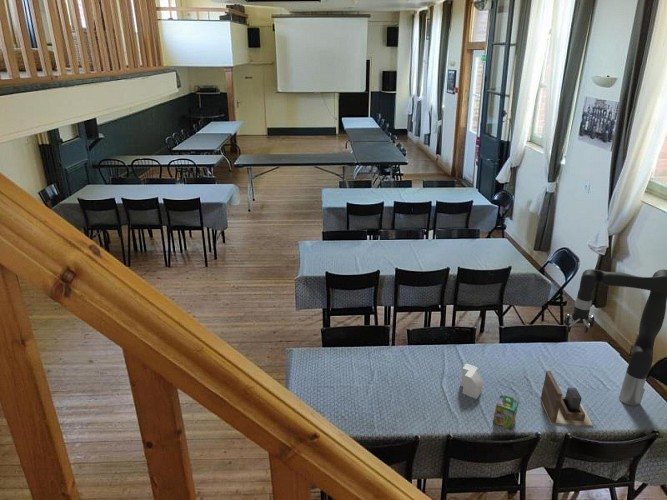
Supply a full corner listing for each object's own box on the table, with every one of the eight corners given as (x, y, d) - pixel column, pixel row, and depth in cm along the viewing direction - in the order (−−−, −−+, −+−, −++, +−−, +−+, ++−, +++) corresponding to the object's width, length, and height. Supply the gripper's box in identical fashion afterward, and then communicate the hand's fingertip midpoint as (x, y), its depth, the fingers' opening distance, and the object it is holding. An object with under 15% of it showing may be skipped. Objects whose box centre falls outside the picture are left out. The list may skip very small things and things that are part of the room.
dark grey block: (571, 406, 253) (575, 387, 248) (576, 417, 246) (581, 398, 241) (563, 405, 253) (567, 387, 249) (568, 416, 246) (573, 397, 241)
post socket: (579, 402, 257) (586, 372, 250) (592, 426, 241) (601, 396, 233) (540, 399, 259) (546, 370, 252) (551, 424, 242) (558, 393, 235)
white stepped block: (463, 380, 273) (466, 363, 269) (483, 388, 267) (486, 370, 263) (456, 391, 265) (458, 373, 261) (476, 399, 259) (479, 381, 255)
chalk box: (492, 423, 243) (496, 399, 237) (497, 412, 250) (501, 389, 244) (511, 430, 239) (516, 406, 233) (515, 419, 246) (520, 395, 240)
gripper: (593, 302, 258) (587, 329, 264) (566, 301, 259) (560, 327, 265) (599, 310, 251) (593, 336, 257) (571, 308, 252) (565, 335, 258)
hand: (576, 332), depth 261 cm, fingers open, 8 cm apart
